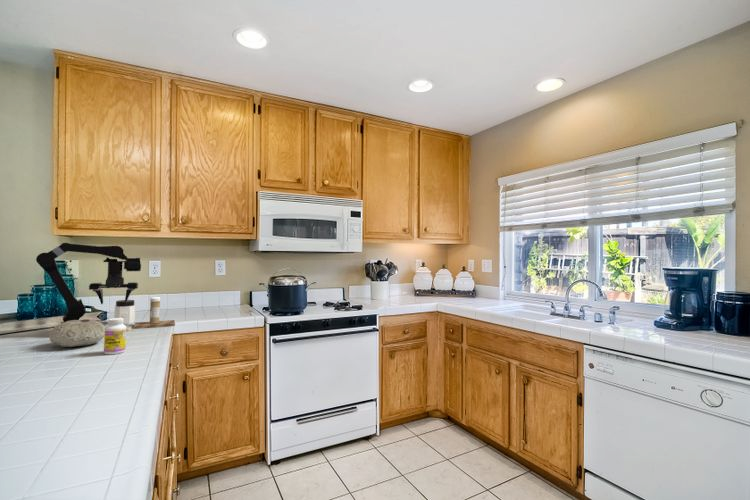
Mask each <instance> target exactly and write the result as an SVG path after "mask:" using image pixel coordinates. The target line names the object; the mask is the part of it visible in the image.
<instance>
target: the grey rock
mask: <svg viewBox="0 0 750 500" xmlns="http://www.w3.org/2000/svg"><path fill="white" fill-rule="evenodd" d="M62 322H63V321H62ZM105 328H106V325H104V324H103V323H102V322H100V321H98V320H95V319H94V318H93V319H91V318H84V319H83V318H82V319H79V320H70V321H67V322H63V323H61V322H60V323H59V324H57V325H56V326H54V327H53V328H52V330H51V331H49V333H48V338H49V341H50V342H51V343H52V344H55V345H58V346H60V347H63V348H66V347H67V348H68V347H69V348H71V347H72V348H73V347H84V346H90V345H94V344H95V343H97V342H100V341H101V340H102V339H103V338H104V336H105Z"/></svg>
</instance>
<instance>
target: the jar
mask: <svg viewBox="0 0 750 500" xmlns="http://www.w3.org/2000/svg"><path fill="white" fill-rule="evenodd" d="M114 318H123V319H124V321H123V325H130V324H135V323H136V305H135V300H134V299H128V300H127V302H126V303H125V299H119V300H116V301H115V306H114Z"/></svg>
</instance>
